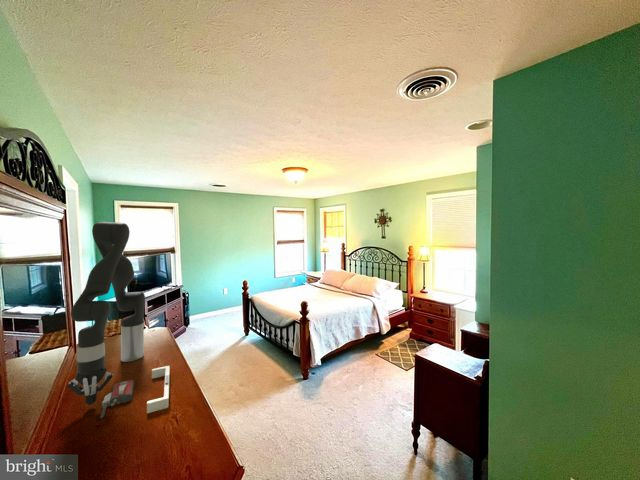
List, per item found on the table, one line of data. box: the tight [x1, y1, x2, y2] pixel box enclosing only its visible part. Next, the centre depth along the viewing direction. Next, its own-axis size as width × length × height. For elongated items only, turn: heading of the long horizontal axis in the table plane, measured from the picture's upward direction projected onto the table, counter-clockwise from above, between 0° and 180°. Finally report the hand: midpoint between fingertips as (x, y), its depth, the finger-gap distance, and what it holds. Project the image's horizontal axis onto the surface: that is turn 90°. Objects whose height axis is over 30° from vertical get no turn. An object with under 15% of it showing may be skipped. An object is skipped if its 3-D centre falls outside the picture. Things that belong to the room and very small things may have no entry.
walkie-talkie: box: [99, 379, 135, 419], centre depth 95 cm, size 9×4×20 cm
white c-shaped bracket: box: [146, 365, 171, 414], centre depth 102 cm, size 26×6×4 cm, turn 30°
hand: (91, 403), depth 91 cm, fingers closed
